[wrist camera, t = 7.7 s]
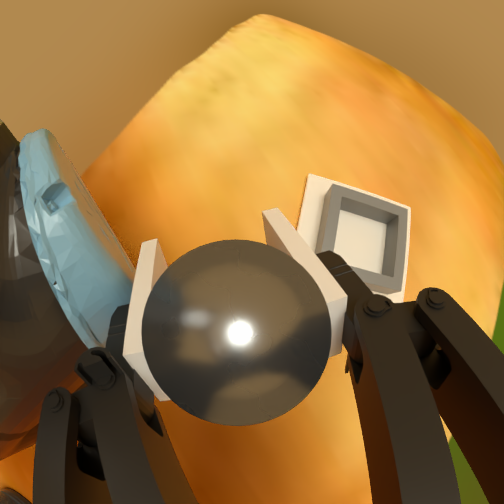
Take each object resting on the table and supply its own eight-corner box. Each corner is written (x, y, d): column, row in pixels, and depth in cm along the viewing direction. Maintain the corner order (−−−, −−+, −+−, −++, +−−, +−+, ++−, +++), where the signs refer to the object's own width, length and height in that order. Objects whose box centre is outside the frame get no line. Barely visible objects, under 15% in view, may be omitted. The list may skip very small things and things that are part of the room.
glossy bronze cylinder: (184, 355, 15) (125, 393, 6) (206, 273, 16) (171, 220, 7) (268, 377, 15) (303, 439, 6) (289, 294, 16) (348, 266, 7)
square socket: (282, 292, 29) (288, 287, 25) (307, 176, 32) (314, 159, 28) (396, 318, 28) (414, 317, 25) (407, 209, 32) (422, 198, 28)
